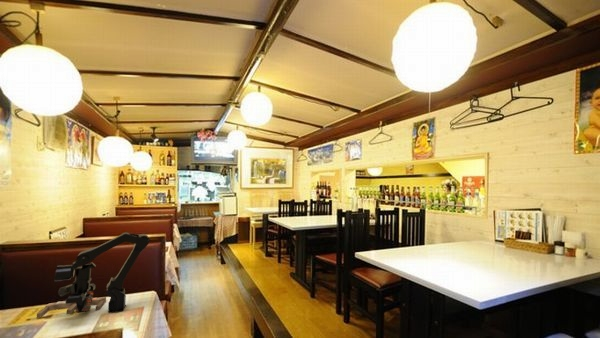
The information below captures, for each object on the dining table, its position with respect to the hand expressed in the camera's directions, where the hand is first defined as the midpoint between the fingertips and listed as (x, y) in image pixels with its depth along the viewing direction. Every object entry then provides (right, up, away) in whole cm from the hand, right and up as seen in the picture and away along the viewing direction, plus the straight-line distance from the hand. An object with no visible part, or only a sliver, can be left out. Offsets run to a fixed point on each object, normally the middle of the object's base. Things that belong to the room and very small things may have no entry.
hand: (79, 311), depth 131 cm
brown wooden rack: (-10, -3, +8) cm, 13 cm away
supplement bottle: (-1, -2, +2) cm, 3 cm away
